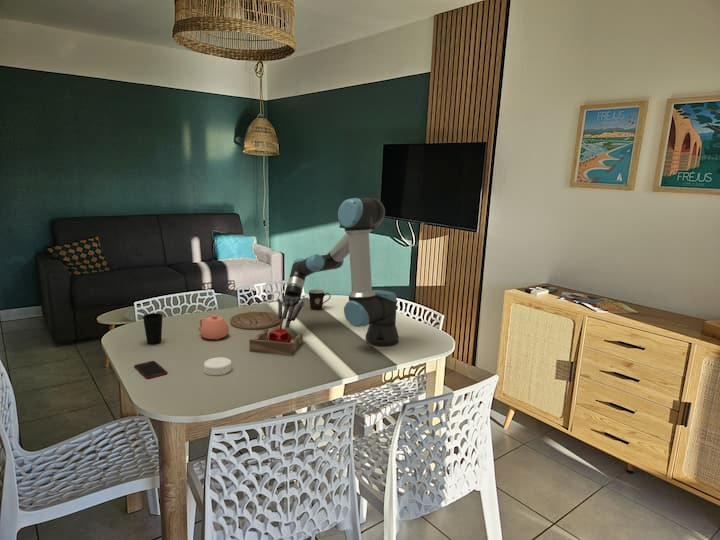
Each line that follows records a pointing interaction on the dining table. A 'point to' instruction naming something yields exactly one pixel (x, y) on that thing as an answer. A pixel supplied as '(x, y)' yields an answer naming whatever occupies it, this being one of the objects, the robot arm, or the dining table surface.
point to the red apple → (279, 335)
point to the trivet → (255, 320)
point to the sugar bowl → (213, 327)
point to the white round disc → (217, 366)
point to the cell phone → (150, 370)
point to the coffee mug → (317, 299)
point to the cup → (153, 328)
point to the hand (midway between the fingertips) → (282, 333)
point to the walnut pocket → (274, 345)
